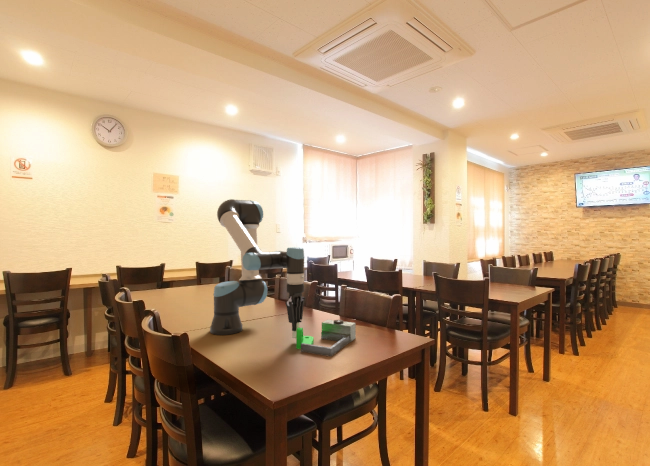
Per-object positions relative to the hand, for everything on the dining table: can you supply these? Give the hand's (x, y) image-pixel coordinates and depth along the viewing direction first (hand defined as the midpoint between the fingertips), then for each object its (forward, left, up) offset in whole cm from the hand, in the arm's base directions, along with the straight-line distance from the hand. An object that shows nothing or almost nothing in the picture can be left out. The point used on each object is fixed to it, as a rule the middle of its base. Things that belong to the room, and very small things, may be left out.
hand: (295, 337), depth 147 cm
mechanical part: (+5, 0, -3) cm, 6 cm away
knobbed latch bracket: (+14, +4, -2) cm, 15 cm away
